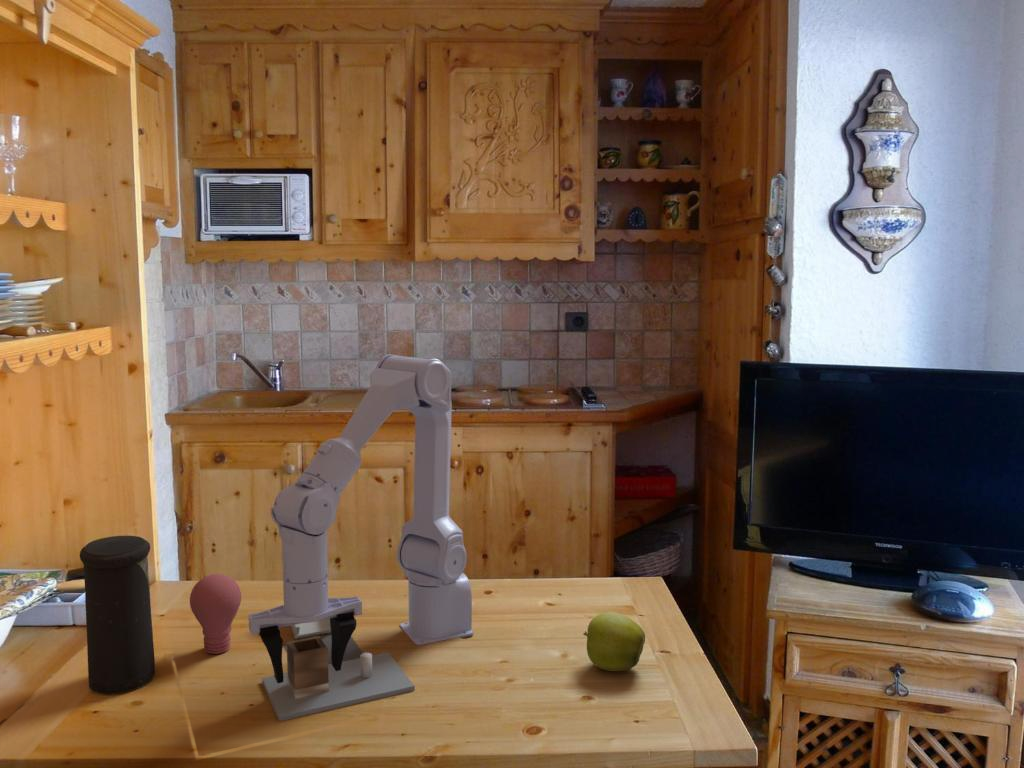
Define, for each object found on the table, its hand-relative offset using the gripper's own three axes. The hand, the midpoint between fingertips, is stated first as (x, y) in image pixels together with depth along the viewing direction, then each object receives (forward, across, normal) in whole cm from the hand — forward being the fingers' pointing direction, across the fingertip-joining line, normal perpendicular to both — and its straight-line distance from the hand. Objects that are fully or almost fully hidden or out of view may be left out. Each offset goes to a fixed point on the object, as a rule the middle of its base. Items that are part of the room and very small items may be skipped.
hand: (308, 673), depth 115 cm
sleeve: (+2, 0, 0) cm, 2 cm away
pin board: (+3, -4, 0) cm, 5 cm away
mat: (+3, -5, -11) cm, 12 cm away
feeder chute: (+3, -5, -20) cm, 21 cm away
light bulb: (+3, +9, -18) cm, 20 cm away
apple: (+3, -41, +11) cm, 43 cm away
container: (+3, +22, -15) cm, 27 cm away
